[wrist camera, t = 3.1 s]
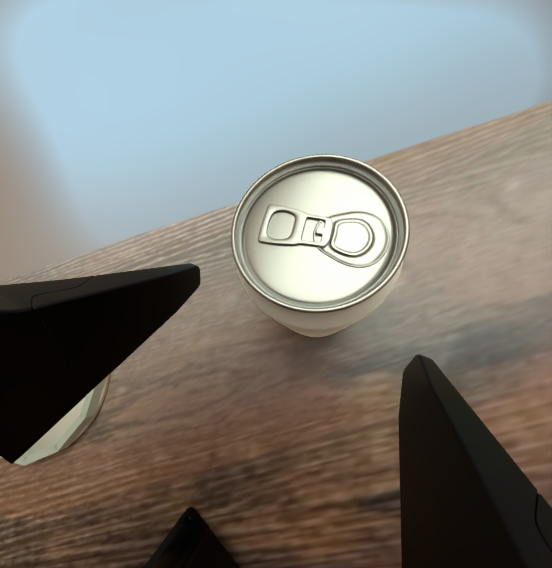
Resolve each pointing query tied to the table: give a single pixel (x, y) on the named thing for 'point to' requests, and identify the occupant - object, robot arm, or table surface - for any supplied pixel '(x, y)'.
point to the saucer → (68, 426)
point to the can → (320, 242)
